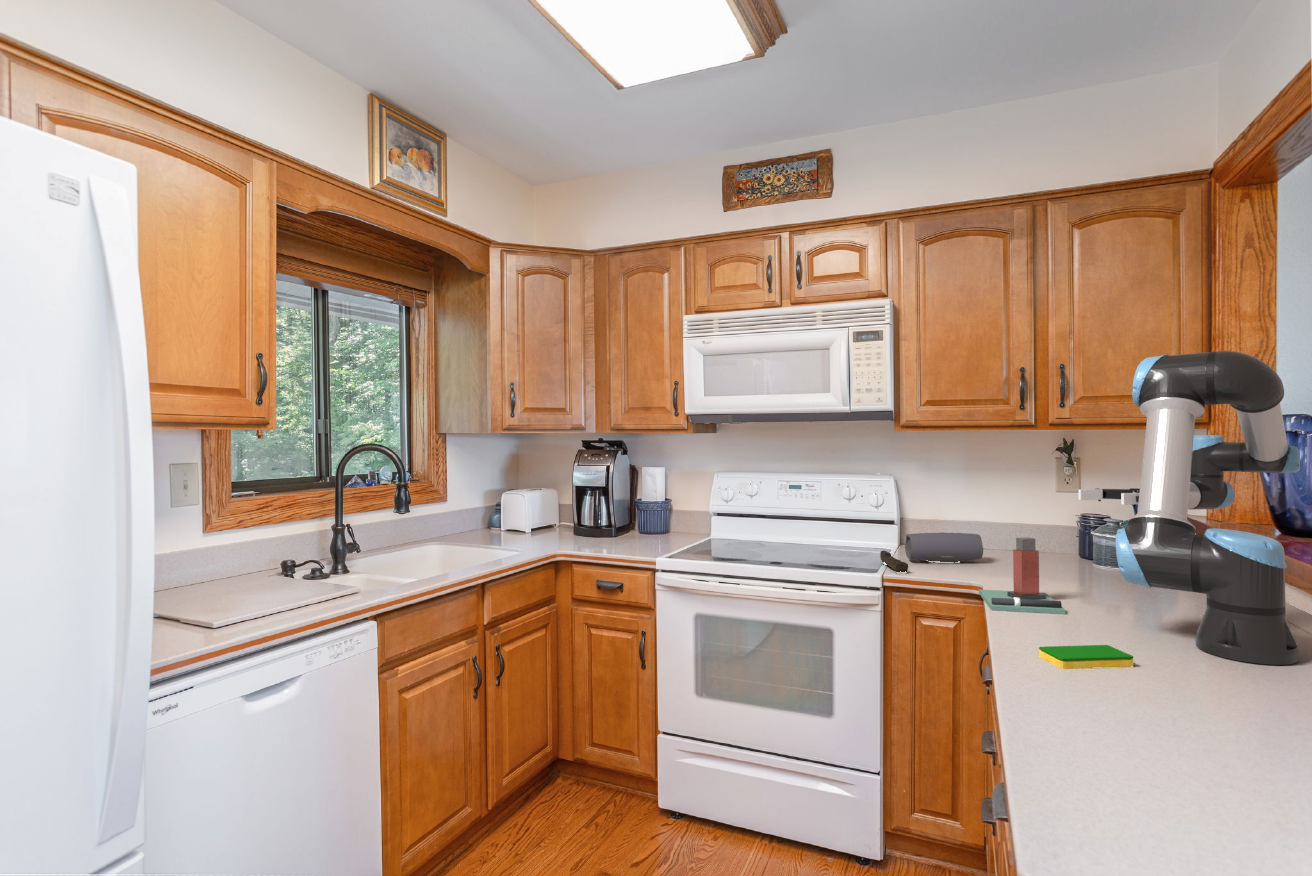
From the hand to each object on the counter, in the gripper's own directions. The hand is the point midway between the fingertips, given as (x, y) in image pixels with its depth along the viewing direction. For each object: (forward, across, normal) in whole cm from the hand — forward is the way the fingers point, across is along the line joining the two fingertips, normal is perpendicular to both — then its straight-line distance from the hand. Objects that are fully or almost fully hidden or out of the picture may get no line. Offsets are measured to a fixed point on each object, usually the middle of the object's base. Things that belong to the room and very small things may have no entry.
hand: (1100, 496), depth 173 cm
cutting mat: (+21, +3, -27) cm, 34 cm away
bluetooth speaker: (+9, +56, -26) cm, 62 cm away
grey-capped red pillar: (+18, +4, -26) cm, 32 cm away
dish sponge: (+38, -39, -28) cm, 61 cm away
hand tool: (+30, +51, -27) cm, 65 cm away
